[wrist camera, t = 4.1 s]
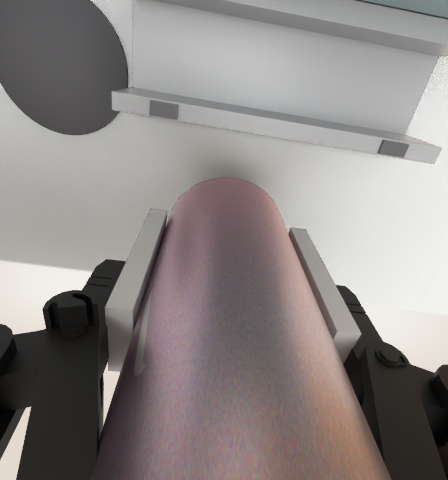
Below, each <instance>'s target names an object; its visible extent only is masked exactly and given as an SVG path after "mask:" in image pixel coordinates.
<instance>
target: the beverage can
mask: <svg viewBox="0 0 448 480" xmlns="http://www.w3.org/2000/svg"><path fill="white" fill-rule="evenodd" d="M91 480H391V477H390V475H389V473H388V470H387V468H386V466H385V463H384V461H383V458H382V456H381V454H380V451H379V449H378V447H377V444H376V442H375V439H374V437H373V435H372V432H371V430H370V427H369V425H368V423H367V420H366V418H365V416H364V413H363V411H362V408H361V406H360V404H359V401H358V399H357V397H356V394H355V392H354V389H353V387H352V385H351V382H350V380H349V377H348V375H347V373H346V370H345V368H344V366H343V363H342V361H341V358H340V356H339V354H338V351H337V349H336V347H335V344H334V342H333V339H332V337H331V335H330V332H329V330H328V328H327V325H326V323H325V320H324V318H323V316H322V313H321V311H320V308H319V306H318V304H317V301H316V299H315V297H314V294H313V292H312V289H311V287H310V285H309V282H308V280H307V278H306V275H305V273H304V270H303V268H302V266H301V263H300V261H299V259H298V256H297V254H296V251H295V249H294V247H293V244H292V242H291V239H290V237H289V235H288V232H287V230H286V228H285V225H284V223H283V220H282V218H281V216H280V213H279V211H278V209H277V207H276V205H275V203H274V202H273V200H272V199H271V198H270V196H269V195H268V194H267V193H266V192H265V191H263V190H262V189H261V188H259V187H258V186H256V185H254V184H252V183H250V182H248V181H245V180H241V179H237V178H214V179H210V180H206V181H203V182H201V183H199V184H197V185H195V186H193V187H191V188H190V189H189V190H187V191H186V192H185V193H184V194H183V195H182V196H181V197H180V198H179V199H178V201H177V202H176V203H175V205H174V207H173V209H172V211H171V214H170V217H169V220H168V223H167V226H166V230H165V233H164V236H163V239H162V242H161V245H160V249H159V252H158V255H157V258H156V261H155V264H154V268H153V271H152V274H151V277H150V280H149V283H148V287H147V290H146V293H145V296H144V299H143V302H142V306H141V309H140V312H139V315H138V318H137V321H136V325H135V328H134V331H133V334H132V337H131V340H130V344H129V347H128V350H127V353H126V356H125V359H124V363H123V366H122V369H121V372H120V376H119V379H118V382H117V385H116V388H115V391H114V394H113V397H112V401H111V404H110V407H109V410H108V413H107V417H106V420H105V423H104V426H103V429H102V432H101V435H100V439H99V442H98V449H97V458H96V464H95V468H94V471H93V474H92V477H91Z"/></svg>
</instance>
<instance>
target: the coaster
mask: <svg viewBox="0 0 448 480" xmlns="http://www.w3.org/2000/svg"><path fill="white" fill-rule="evenodd" d="M0 82H1V84H2V86H3V88H4V89H5V91H6V93H7V94H8V95H9V97H10V98H11V99H12V101H13V102H14V103H15V104H16V105H17V106H18V108H19V109H20V110H22V111H23V112H24V113H25V114H26V115H27V116H28V117H30V118H31V119H32V120H34V121H35V122H37V123H38V124H40V125H42V126H43V127H46V128H48V129H50V130H52V131H55V132H58V133H63V134H68V135H83V134H88V133H92V132H95V131H97V130H99V129H101V128H103V127H105V126H106V125H107V124H109V123H110V122H111V121H112V120H113V119H114V118H115V117H116V115H117V114H118V112H119V111H114V110H112V91H115V90H121V89H126V88H127V85H128V70H127V63H126V58H125V54H124V51H123V47H122V45H121V42H120V40H119V38H118V36H117V34H116V32H115V30H114V28H113V27H112V25H111V24H110V22H109V21H108V19H107V18H106V17H105V15H104V14H103V13H102V12H101V11H100V10H99V9H98V8H97V7H96V6H95V5H94V4H93V3H92V2H91V1H90V0H0Z"/></svg>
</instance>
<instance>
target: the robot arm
mask: <svg viewBox="0 0 448 480" xmlns="http://www.w3.org/2000/svg"><path fill="white" fill-rule="evenodd" d="M166 220H167V211H164V210H157V209H150V211H149V214H148V216H147V218H146V220H145V222H144V224H143V226H142V229H141V231H140V233H139V235H138V237H137V239H136V242H135V244H134V246H133V248H132V250H131V252H130V254H129V257H128V259H127V261H117V260H108V259H106V260H105V261H103V262H102V263H101V264H99V265H98V266H96V268H95V269H94V271H93V273H92V275H91V277H90V278H89V279H88V281H87V284H86V285H85V286H84V288H83V290H82V291H79V290H72V291H67V292H62V293H61V294H58V295H56V296H54V297H52V298H51V299H50V300H49V301H47V302H46V304H45V306H44V307H43V314H44V319H45V325H46V329H44V330H40V331H36V332H29V333H22V334H15V335H13V334H12V330H11V329H10V328H8V327H7V326H6V325H2V324H0V459H1V457H2V455H3V453H4V451H5V449H6V447H7V445H8V443H9V441H10V439H11V437H12V435H13V433H14V431H15V429H16V427H17V425H18V423H19V421H20V418H21V416H22V414H23V412H24V410H25V408H26V407H31V411H30V416H29V421H28V425H27V430H26V435H25V440H24V445H23V450H22V454H21V459H20V464H19V469H18V474H17V478H16V480H91V477H92V474H93V471H94V468H95V464H96V458H97V449H98V442H99V439H100V435H101V432H102V429H103V391H104V389H103V388H104V387H103V386H104V383H103V373H104V370H105V367H106V365H107V362H108V371H120V372H121V369H122V366H123V363H124V359H125V356H126V353H127V350H128V347H129V344H130V340H131V337H132V334H133V331H134V328H135V325H136V321H137V318H138V315H139V312H140V309H141V306H142V302H143V299H144V296H145V293H146V290H147V287H148V283H149V280H150V277H151V274H152V271H153V268H154V264H155V261H156V258H157V255H158V252H159V249H160V245H161V242H162V239H163V236H164V233H165V230H166ZM289 237H290V239H291V242H292V244H293V247H294V249H295V251H296V254H297V256H298V259H299V261H300V263H301V266H302V268H303V270H304V273H305V275H306V278H307V280H308V282H309V285H310V287H311V289H312V292H313V294H314V297H315V299H316V301H317V304H318V306H319V308H320V311H321V313H322V316H323V318H324V320H325V323H326V325H327V328H328V330H329V332H330V335H331V337H332V339H333V342H334V344H335V347H336V349H337V351H338V354H339V356H340V358H341V361H342V363H343V366H344V368H345V370H346V373H347V375H348V377H349V380H350V382H351V385H352V387H353V389H354V392H355V394H356V397H357V399H358V401H359V404H360V406H361V408H362V411H363V413H364V416H365V418H366V420H367V423H368V425H369V427H370V430H371V432H372V435H373V437H374V439H375V442H376V444H377V447H378V449H379V451H380V454H381V456H382V458H383V461H384V463H385V466H386V468H387V470H388V473H389V475H390V477H391V480H448V365H442V366H441V367H439V368H438V369H437V371H436V372H435V373H433V372H430V371H427V370H425V369H422V368H419V367H416V366H413V365H411V364H410V363H409V361H408V359H407V358H406V357H405V356H404V355H403V354H402V353H401V351H399V350H398V349H397V348H395V347H394V346H392V345H390V344H388V343H385V342H383V341H382V339H381V337H380V336H379V334H378V332H377V331H376V329H375V327H374V326H373V324H372V322H371V321H370V319H369V317H368V316H367V315H366V314H365V313H366V312H365V311H364V309H363V307H362V306H361V304H360V302H359V301H358V299H357V297H356V296H355V294H353V293H352V292H351V291H350V290H349V289H348V288H347V287H346V286H339V285H335V283H334V281H333V280H332V278H331V276H330V274H329V272H328V270H327V268H326V266H325V265H324V263H323V261H322V259H321V257H320V255H319V253H318V252H317V250H316V248H315V246H314V244H313V242H312V240H311V238H310V237H309V235H308V233H307V231H306V229H299V228H290V231H289Z"/></svg>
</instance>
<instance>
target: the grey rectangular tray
mask: <svg viewBox="0 0 448 480" xmlns="http://www.w3.org/2000/svg"><path fill="white" fill-rule="evenodd" d="M439 56H448V20H447V19H443V18H438V17H433V16H428V15H423V14H418V13H413V12H409V11H404V10H399V9H394V8H389V7H384V6H379V5H374V4H370V3H365V2H360V1H355V0H133V87H131V88H126V89H121V90H115V91H112V110H114V111H120V112H126V113H132V114H138V115H144V116H150V117H156V118H162V119H168V120H174V121H180V122H186V123H192V124H198V125H204V126H210V127H216V128H222V129H228V130H234V131H240V132H246V133H252V134H258V135H264V136H270V137H275V138H281V139H287V140H293V141H299V142H305V143H311V144H317V145H323V146H329V147H335V148H341V149H347V150H353V151H359V152H365V153H371V154H377V155H383V156H389V157H395V158H401V159H407V160H413V161H419V162H425V163H430V164H434V163H435V161H436V159H437V157H438V155H439V153H440V151H441V149H442V148H440V147H438V146H435V145H432V144H429V143H427V142H424V141H421V140H418V139H416V138H413V137H410V136H407V135H405V133H406V131H407V129H408V126H409V124H410V122H411V119H412V117H413V115H414V113H415V110H416V108H417V106H418V104H419V101H420V99H421V97H422V94H423V92H424V90H425V88H426V85H427V83H428V81H429V79H430V76H431V74H432V72H433V69H434V67H435V65H436V63H437V60H438V58H439Z"/></svg>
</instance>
